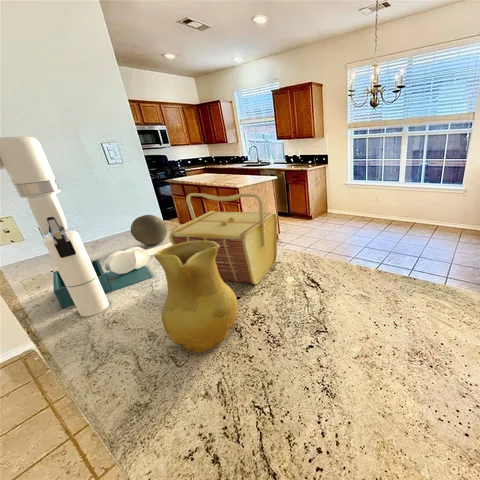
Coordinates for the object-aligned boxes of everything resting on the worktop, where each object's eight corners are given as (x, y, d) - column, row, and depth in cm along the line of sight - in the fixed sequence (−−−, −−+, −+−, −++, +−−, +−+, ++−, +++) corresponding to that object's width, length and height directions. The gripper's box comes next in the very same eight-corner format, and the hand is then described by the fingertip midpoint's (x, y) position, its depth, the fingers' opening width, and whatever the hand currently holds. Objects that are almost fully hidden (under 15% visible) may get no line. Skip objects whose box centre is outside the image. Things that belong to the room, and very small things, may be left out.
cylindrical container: (106, 300, 86) (74, 229, 76) (112, 308, 82) (80, 234, 72) (78, 311, 81) (40, 237, 71) (83, 321, 77) (44, 242, 67)
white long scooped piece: (199, 247, 129) (193, 246, 130) (197, 232, 126) (191, 231, 128) (113, 278, 96) (107, 276, 97) (108, 257, 93) (102, 255, 95)
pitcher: (152, 360, 61) (124, 263, 53) (198, 312, 79) (182, 233, 70) (221, 367, 59) (203, 267, 50) (252, 317, 76) (243, 235, 68)
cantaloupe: (144, 241, 134) (135, 212, 128) (174, 238, 136) (166, 210, 130) (131, 252, 121) (120, 222, 115) (164, 249, 123) (155, 218, 118)
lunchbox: (63, 310, 82) (53, 291, 80) (62, 288, 94) (53, 271, 92) (153, 278, 98) (147, 261, 96) (142, 263, 110) (137, 248, 107)
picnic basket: (180, 286, 92) (155, 202, 80) (222, 254, 115) (207, 185, 103) (256, 294, 85) (241, 204, 73) (284, 258, 108) (276, 185, 96)
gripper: (20, 187, 70) (50, 247, 77) (13, 196, 58) (49, 266, 65) (57, 182, 75) (82, 240, 82) (58, 190, 63) (88, 256, 70)
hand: (67, 251), depth 74 cm, fingers closed on cylindrical container, 7 cm apart
